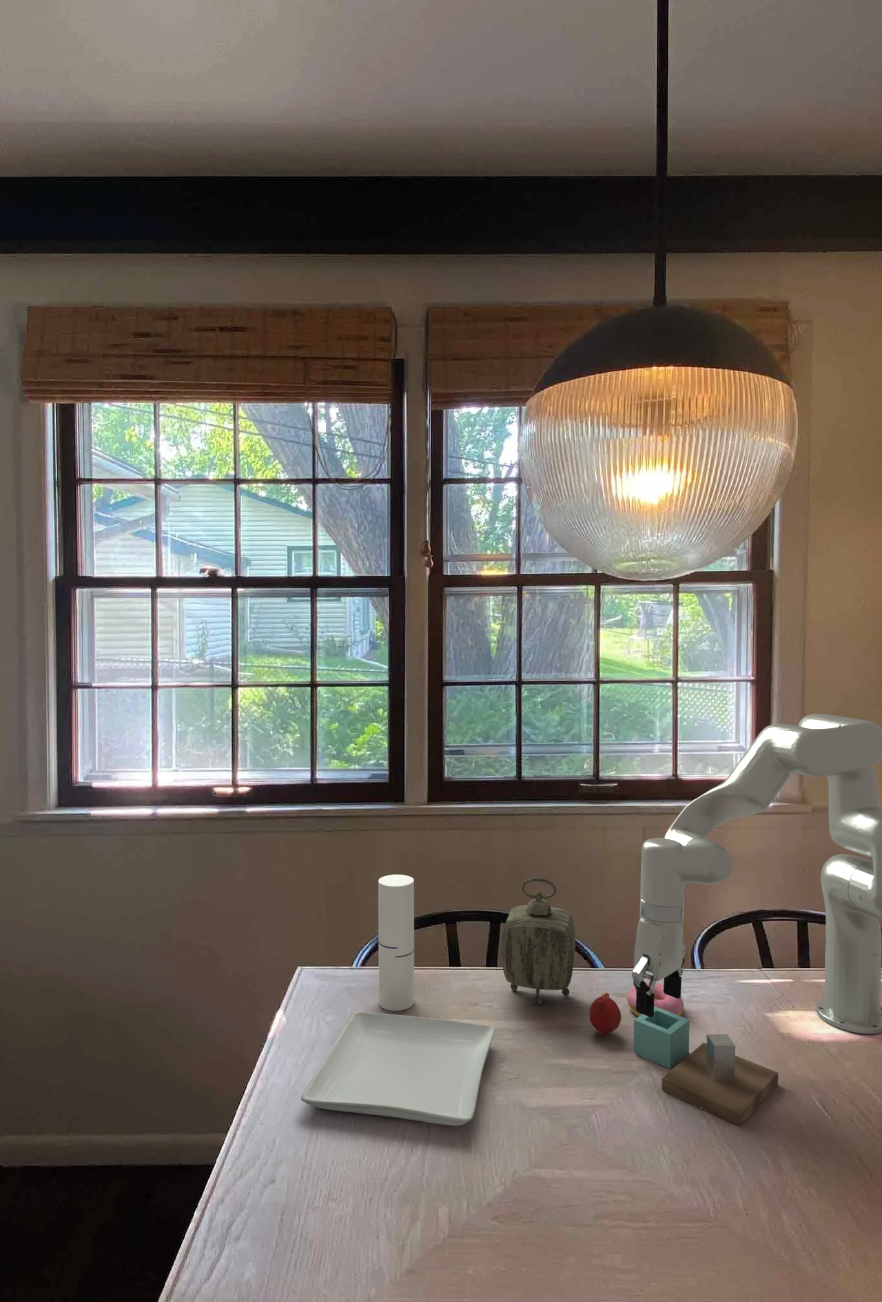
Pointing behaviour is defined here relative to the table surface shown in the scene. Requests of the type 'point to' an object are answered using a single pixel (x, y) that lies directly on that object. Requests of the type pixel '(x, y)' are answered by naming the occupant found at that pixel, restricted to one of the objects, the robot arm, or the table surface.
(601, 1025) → the onion
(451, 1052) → the square plate
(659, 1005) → the doughnut
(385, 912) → the cylindrical container
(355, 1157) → the table surface
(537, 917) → the tabletop clock
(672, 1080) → the post board
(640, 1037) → the collar
